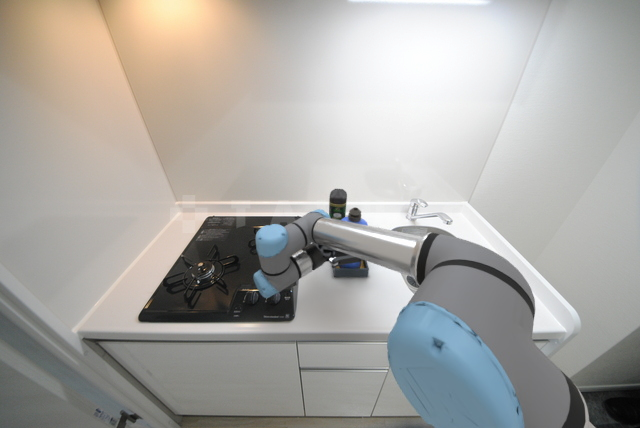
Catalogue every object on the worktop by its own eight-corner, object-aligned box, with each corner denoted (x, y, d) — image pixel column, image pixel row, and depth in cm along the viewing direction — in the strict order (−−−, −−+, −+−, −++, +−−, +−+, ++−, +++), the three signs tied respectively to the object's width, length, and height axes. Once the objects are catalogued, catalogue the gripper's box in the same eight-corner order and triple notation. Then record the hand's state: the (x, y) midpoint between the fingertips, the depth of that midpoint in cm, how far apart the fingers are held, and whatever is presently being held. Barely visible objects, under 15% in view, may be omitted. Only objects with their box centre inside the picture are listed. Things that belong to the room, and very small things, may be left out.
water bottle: (359, 275, 76) (368, 219, 62) (334, 268, 79) (338, 214, 65) (362, 257, 84) (371, 204, 70) (340, 252, 86) (344, 199, 72)
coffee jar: (329, 219, 107) (330, 186, 96) (345, 220, 106) (347, 187, 96) (327, 230, 99) (328, 196, 89) (344, 232, 98) (347, 197, 88)
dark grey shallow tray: (367, 276, 77) (369, 269, 74) (334, 277, 76) (334, 269, 74) (357, 235, 96) (358, 228, 94) (331, 235, 96) (331, 228, 94)
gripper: (285, 246, 72) (331, 223, 83) (333, 296, 56) (382, 260, 67) (283, 229, 68) (332, 208, 79) (335, 278, 52) (386, 242, 63)
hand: (355, 231), depth 73 cm, fingers open, 13 cm apart
